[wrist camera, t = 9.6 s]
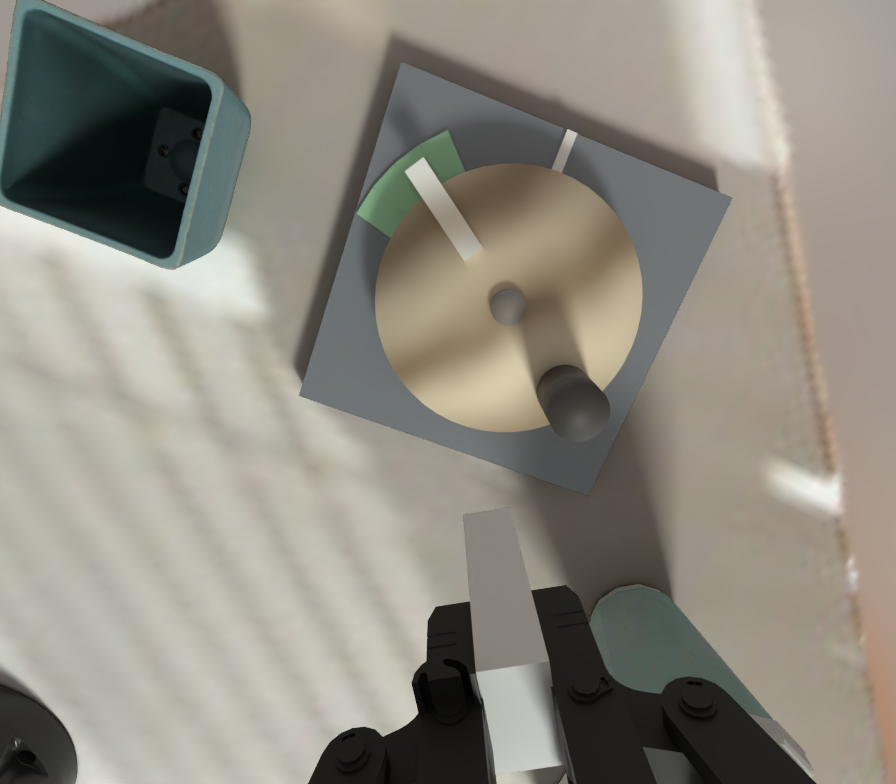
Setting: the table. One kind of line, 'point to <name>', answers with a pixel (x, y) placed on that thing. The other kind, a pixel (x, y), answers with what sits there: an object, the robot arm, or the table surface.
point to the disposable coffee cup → (670, 654)
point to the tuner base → (450, 154)
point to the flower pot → (116, 138)
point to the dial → (509, 299)
